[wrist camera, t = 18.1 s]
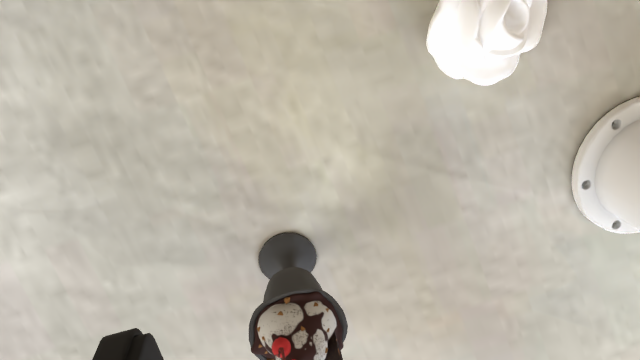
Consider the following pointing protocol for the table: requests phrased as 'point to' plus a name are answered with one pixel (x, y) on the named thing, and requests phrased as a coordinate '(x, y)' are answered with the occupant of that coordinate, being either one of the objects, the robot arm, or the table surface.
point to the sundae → (295, 306)
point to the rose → (484, 36)
